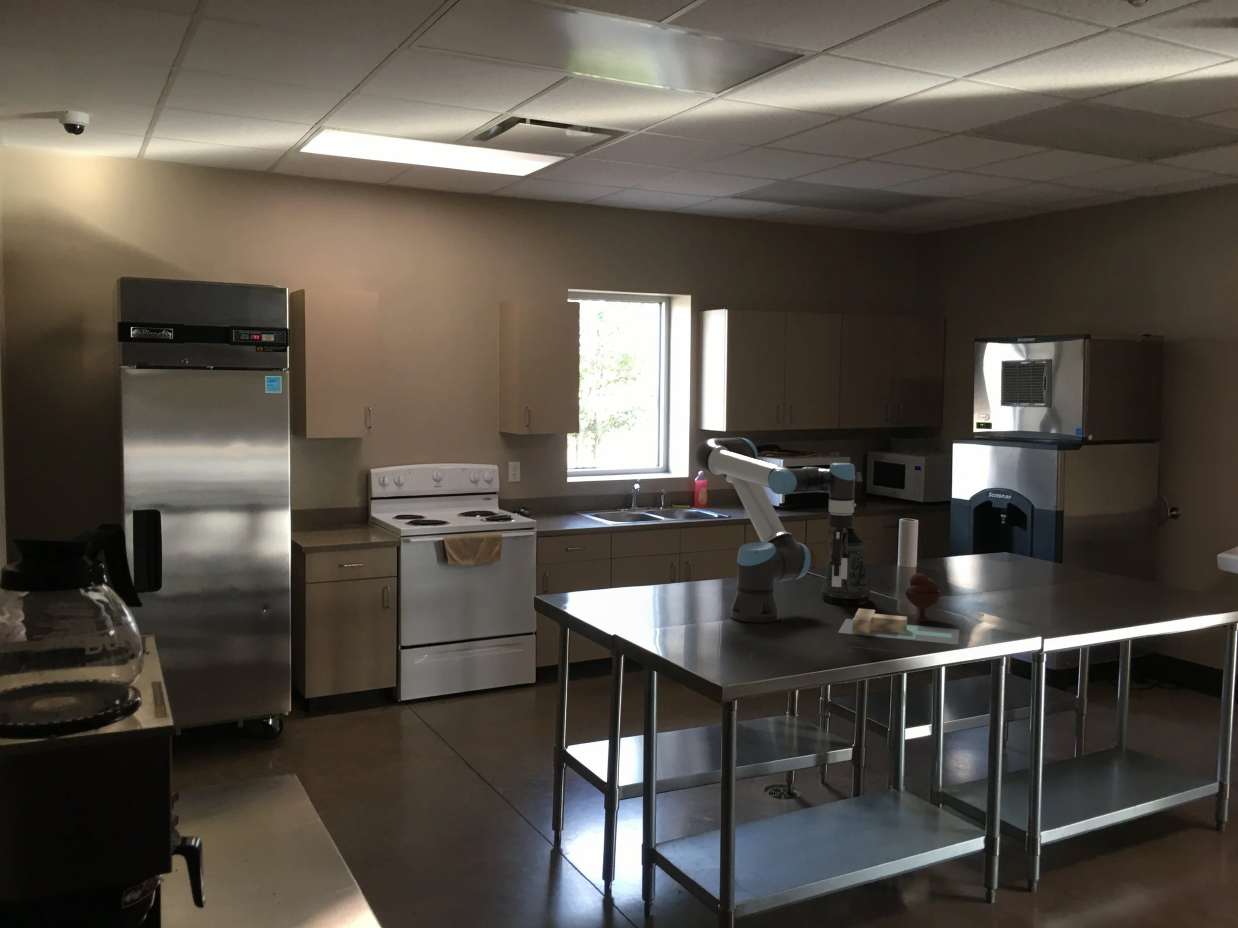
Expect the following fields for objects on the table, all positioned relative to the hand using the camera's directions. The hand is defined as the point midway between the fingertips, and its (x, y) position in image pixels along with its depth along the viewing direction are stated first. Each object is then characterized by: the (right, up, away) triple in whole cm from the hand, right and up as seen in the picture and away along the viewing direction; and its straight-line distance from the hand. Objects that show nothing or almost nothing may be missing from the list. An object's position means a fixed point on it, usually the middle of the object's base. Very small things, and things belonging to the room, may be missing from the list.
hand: (839, 582), depth 306 cm
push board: (+17, -14, -5) cm, 23 cm away
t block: (+12, -14, -3) cm, 18 cm away
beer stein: (+11, -11, +38) cm, 41 cm away
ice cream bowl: (+29, -14, +11) cm, 34 cm away
